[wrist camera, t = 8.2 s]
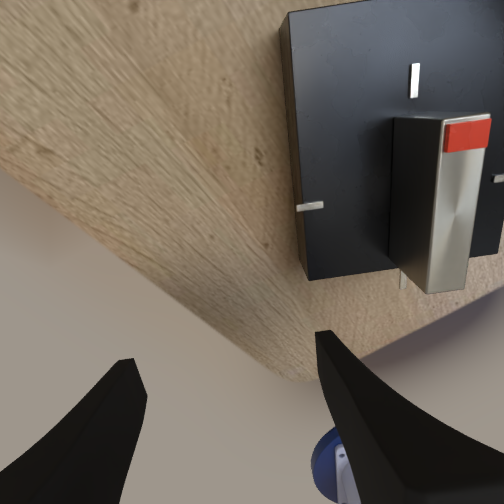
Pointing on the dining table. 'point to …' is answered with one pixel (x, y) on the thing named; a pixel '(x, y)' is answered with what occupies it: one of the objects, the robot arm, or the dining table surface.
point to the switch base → (383, 116)
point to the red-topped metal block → (436, 195)
